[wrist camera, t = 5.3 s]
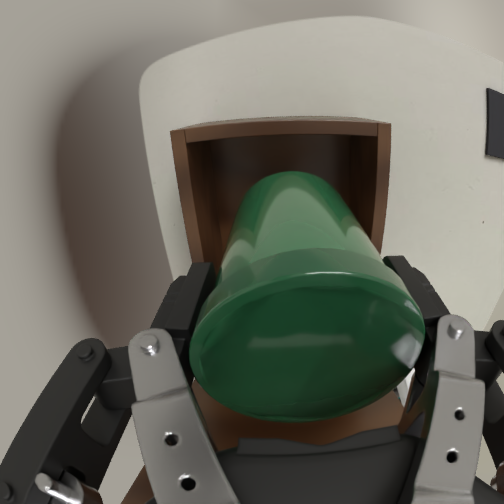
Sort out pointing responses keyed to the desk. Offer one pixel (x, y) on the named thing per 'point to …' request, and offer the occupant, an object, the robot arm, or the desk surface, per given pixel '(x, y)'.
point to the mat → (495, 124)
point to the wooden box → (277, 169)
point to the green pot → (303, 310)
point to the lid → (277, 430)
